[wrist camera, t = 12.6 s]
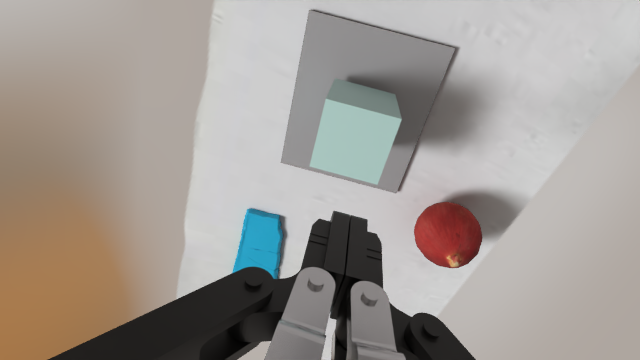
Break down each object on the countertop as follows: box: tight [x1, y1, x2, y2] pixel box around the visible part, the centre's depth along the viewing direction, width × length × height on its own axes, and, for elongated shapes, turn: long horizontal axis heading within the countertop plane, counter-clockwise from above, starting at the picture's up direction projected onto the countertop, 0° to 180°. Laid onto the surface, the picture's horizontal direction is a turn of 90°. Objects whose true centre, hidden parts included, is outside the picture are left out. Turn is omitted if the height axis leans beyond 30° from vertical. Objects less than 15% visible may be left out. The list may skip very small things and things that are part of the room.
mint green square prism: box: [310, 78, 402, 185], centre depth 26 cm, size 5×5×7 cm
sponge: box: [232, 209, 283, 279], centre depth 40 cm, size 2×12×6 cm
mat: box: [281, 10, 455, 193], centre depth 30 cm, size 14×12×1 cm
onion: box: [414, 202, 482, 268], centre depth 30 cm, size 6×6×8 cm
